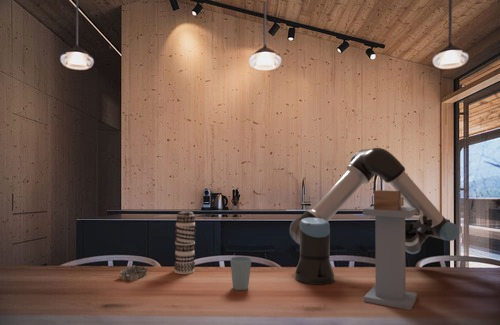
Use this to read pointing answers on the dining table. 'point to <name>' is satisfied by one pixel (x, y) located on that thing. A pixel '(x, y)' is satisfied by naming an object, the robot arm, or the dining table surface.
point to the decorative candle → (185, 242)
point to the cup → (240, 272)
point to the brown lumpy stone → (133, 273)
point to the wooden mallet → (388, 200)
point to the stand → (390, 258)
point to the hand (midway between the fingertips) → (401, 212)
